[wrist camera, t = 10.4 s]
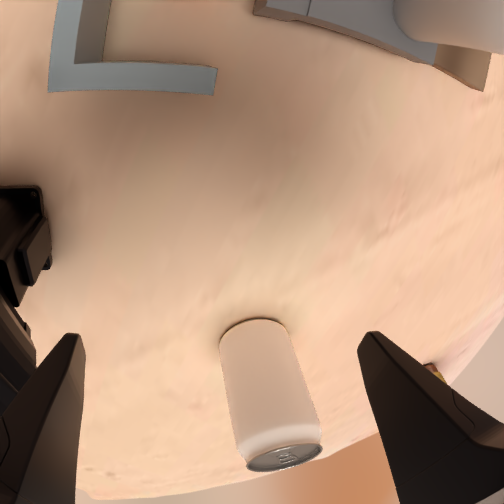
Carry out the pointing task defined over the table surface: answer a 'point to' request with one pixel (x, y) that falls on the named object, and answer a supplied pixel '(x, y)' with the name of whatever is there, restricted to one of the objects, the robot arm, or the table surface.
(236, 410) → the can
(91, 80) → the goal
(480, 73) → the rail
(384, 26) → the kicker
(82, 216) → the table surface
